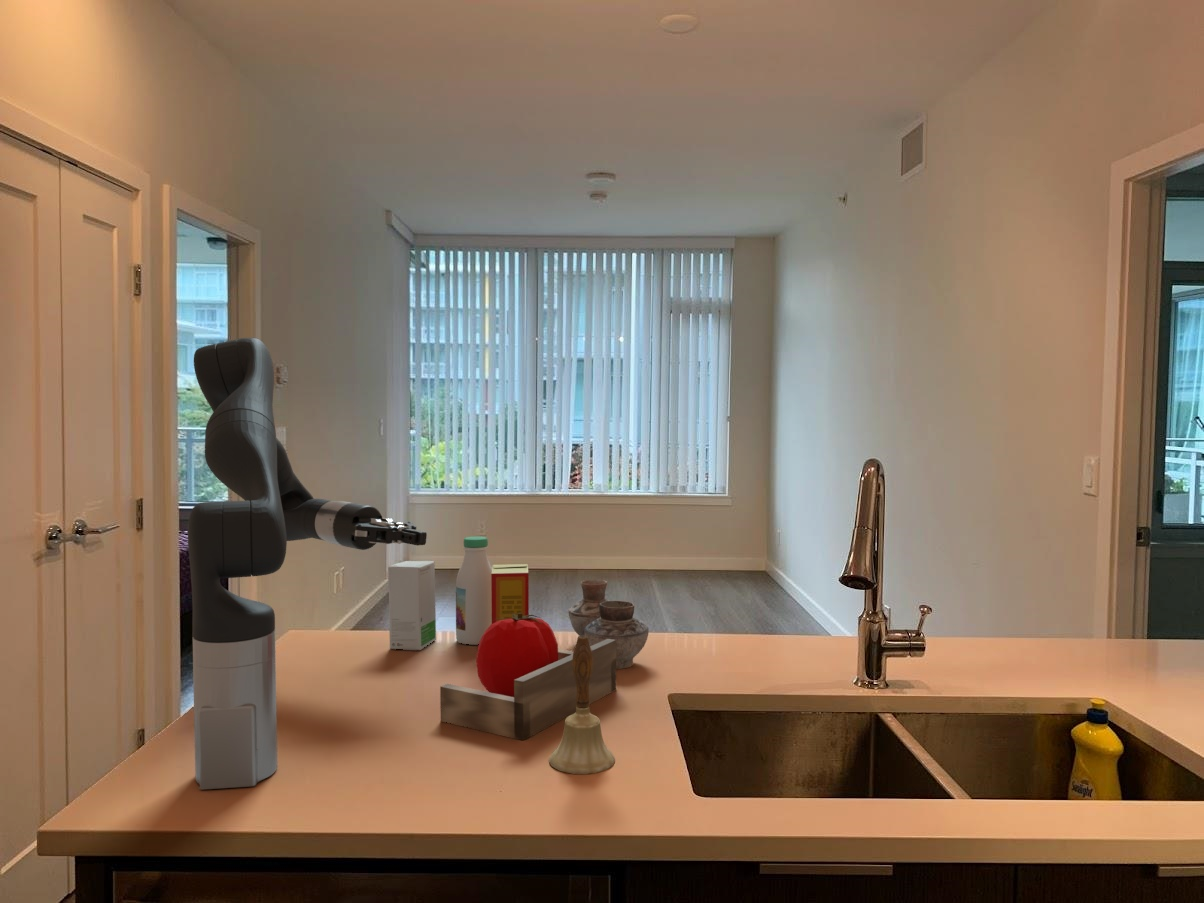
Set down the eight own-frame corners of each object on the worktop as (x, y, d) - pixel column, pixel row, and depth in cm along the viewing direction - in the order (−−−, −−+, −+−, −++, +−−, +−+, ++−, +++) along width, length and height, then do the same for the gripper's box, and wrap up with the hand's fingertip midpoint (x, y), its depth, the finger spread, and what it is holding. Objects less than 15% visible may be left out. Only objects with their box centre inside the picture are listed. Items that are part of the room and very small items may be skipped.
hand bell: (628, 761, 110) (628, 636, 109) (580, 780, 104) (580, 648, 103) (583, 743, 116) (583, 624, 115) (535, 761, 110) (535, 635, 109)
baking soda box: (528, 660, 155) (528, 570, 154) (491, 661, 154) (491, 571, 154) (528, 646, 164) (527, 561, 164) (493, 647, 164) (492, 562, 163)
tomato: (490, 718, 125) (489, 626, 125) (467, 692, 137) (466, 608, 136) (572, 706, 130) (572, 618, 130) (543, 682, 142) (543, 601, 142)
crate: (440, 721, 124) (440, 665, 124) (540, 675, 146) (540, 628, 145) (523, 740, 117) (523, 681, 116) (616, 689, 138) (616, 639, 138)
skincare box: (419, 651, 161) (419, 567, 160) (386, 649, 162) (385, 566, 161) (437, 640, 169) (436, 560, 168) (405, 638, 170) (404, 559, 169)
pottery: (613, 635, 173) (613, 575, 172) (658, 670, 149) (658, 601, 148) (558, 639, 169) (558, 578, 169) (594, 676, 146) (594, 605, 145)
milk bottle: (500, 636, 172) (499, 535, 171) (491, 646, 164) (490, 540, 163) (461, 635, 172) (461, 534, 172) (451, 645, 165) (450, 540, 164)
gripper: (319, 503, 143) (395, 516, 134) (379, 502, 155) (453, 514, 145) (315, 548, 144) (390, 565, 134) (375, 544, 155) (449, 559, 146)
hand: (423, 538), depth 140 cm, fingers closed
